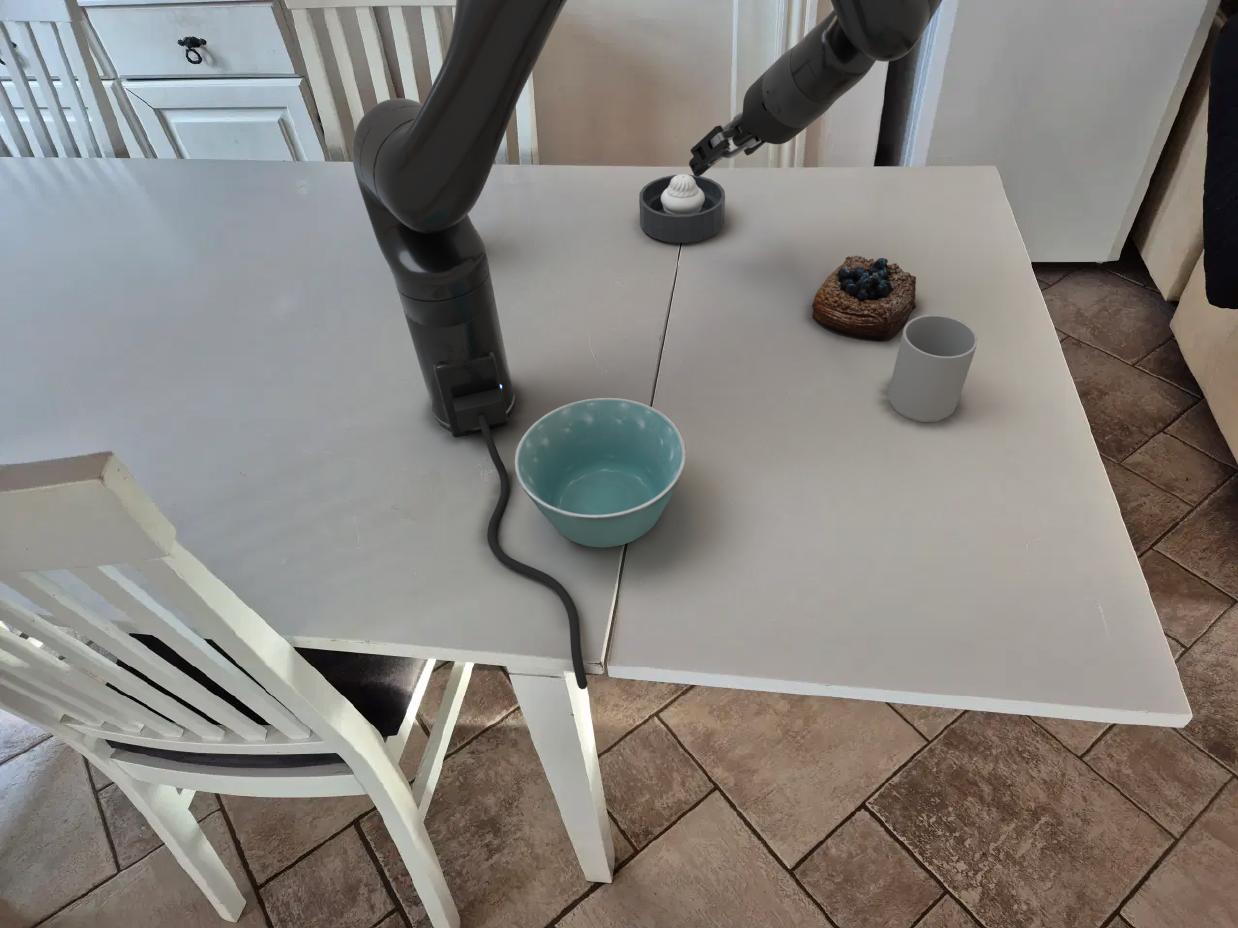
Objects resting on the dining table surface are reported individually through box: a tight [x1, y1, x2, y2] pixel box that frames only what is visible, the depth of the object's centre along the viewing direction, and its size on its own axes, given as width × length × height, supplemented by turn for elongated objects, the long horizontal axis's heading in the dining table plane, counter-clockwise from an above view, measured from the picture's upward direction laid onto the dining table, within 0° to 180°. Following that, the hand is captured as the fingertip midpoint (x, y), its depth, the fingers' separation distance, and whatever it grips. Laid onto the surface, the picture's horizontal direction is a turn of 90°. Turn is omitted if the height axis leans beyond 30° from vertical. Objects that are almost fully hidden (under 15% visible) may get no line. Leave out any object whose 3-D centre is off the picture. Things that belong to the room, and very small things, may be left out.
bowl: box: [514, 397, 687, 548], centre depth 77 cm, size 16×16×8 cm
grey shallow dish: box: [638, 174, 726, 244], centre depth 116 cm, size 12×12×4 cm
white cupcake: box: [661, 173, 705, 215], centre depth 114 cm, size 6×6×7 cm
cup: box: [887, 314, 979, 423], centre depth 86 cm, size 7×10×9 cm
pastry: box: [811, 255, 918, 343], centre depth 99 cm, size 11×12×6 cm
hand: (719, 158), depth 104 cm, fingers open, 8 cm apart
